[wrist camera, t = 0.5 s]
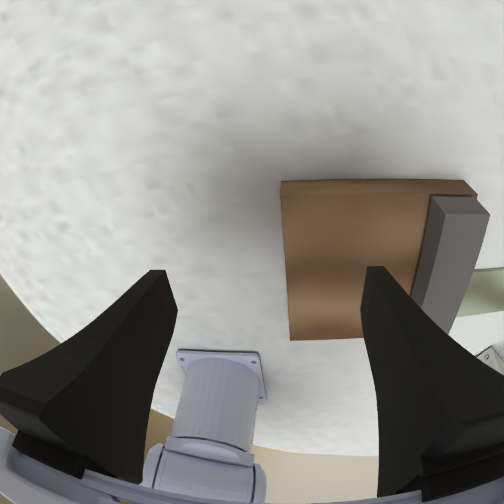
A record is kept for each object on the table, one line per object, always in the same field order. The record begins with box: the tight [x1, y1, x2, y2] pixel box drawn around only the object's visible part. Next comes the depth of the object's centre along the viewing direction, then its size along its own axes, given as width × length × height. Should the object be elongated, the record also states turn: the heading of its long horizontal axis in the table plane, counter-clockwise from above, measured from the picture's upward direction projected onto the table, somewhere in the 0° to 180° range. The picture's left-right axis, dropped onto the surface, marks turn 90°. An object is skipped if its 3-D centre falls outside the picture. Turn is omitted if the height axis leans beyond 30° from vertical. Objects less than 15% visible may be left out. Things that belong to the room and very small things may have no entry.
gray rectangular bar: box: [411, 196, 490, 334], centre depth 18 cm, size 12×3×2 cm, turn 7°
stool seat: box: [280, 179, 504, 341], centre depth 20 cm, size 12×22×2 cm, turn 97°
